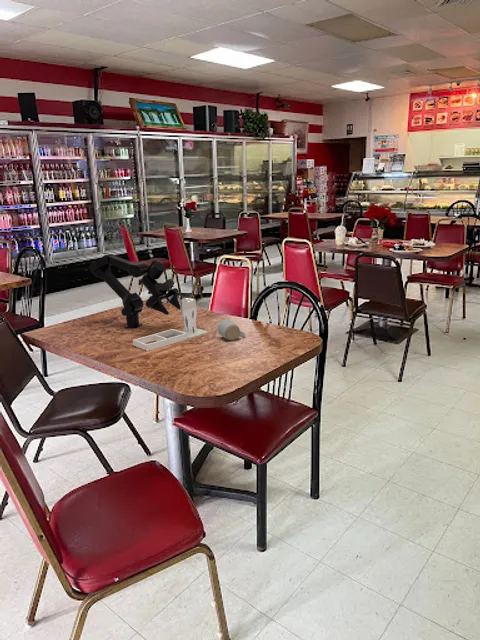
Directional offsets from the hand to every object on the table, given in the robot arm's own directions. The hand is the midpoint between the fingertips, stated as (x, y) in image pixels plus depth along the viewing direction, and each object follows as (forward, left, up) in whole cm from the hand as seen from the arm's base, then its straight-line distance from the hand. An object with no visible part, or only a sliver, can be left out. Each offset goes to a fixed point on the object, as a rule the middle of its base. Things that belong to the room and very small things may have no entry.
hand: (174, 311), depth 215 cm
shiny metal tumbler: (+2, +8, -9) cm, 12 cm away
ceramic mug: (+5, +28, -10) cm, 30 cm away
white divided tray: (+11, +2, -9) cm, 14 cm away
